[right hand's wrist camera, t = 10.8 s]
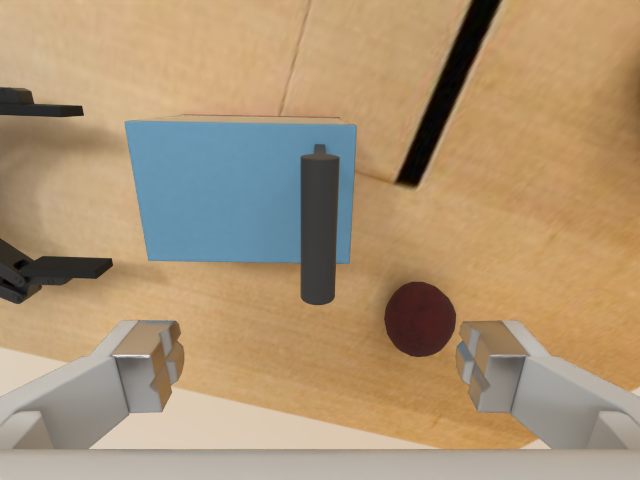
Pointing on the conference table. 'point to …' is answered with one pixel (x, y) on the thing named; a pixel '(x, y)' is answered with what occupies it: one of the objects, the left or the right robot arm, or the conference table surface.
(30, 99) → the left robot arm
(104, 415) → the right robot arm
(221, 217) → the lid
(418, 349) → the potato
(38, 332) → the conference table surface
